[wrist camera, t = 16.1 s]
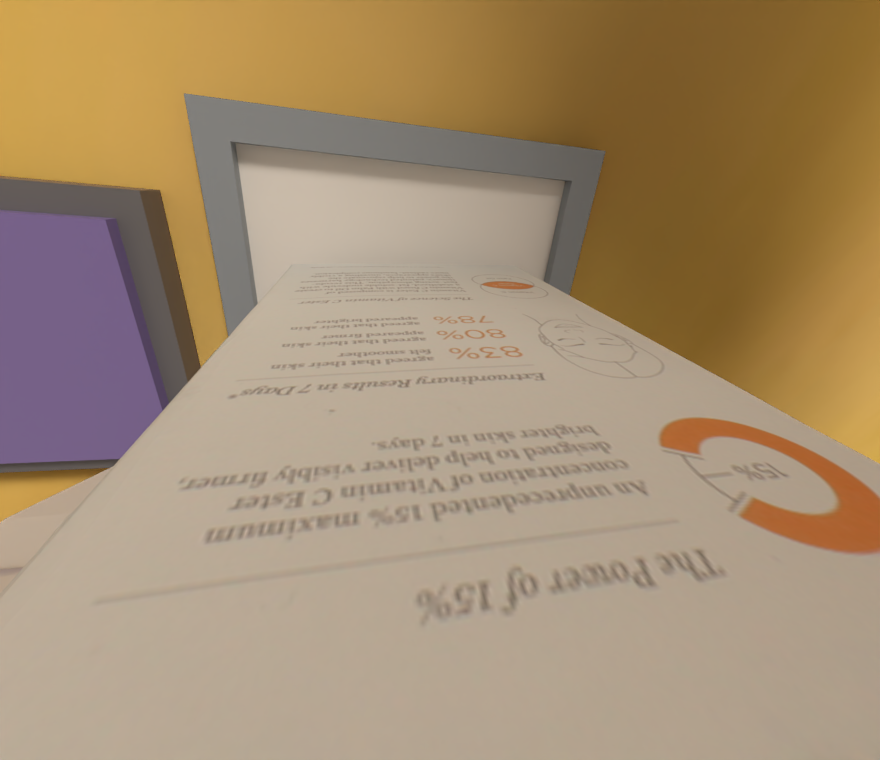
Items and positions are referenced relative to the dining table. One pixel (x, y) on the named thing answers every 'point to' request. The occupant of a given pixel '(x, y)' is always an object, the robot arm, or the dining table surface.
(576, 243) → the print frame
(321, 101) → the dining table surface
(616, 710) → the small box
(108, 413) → the ink pad
